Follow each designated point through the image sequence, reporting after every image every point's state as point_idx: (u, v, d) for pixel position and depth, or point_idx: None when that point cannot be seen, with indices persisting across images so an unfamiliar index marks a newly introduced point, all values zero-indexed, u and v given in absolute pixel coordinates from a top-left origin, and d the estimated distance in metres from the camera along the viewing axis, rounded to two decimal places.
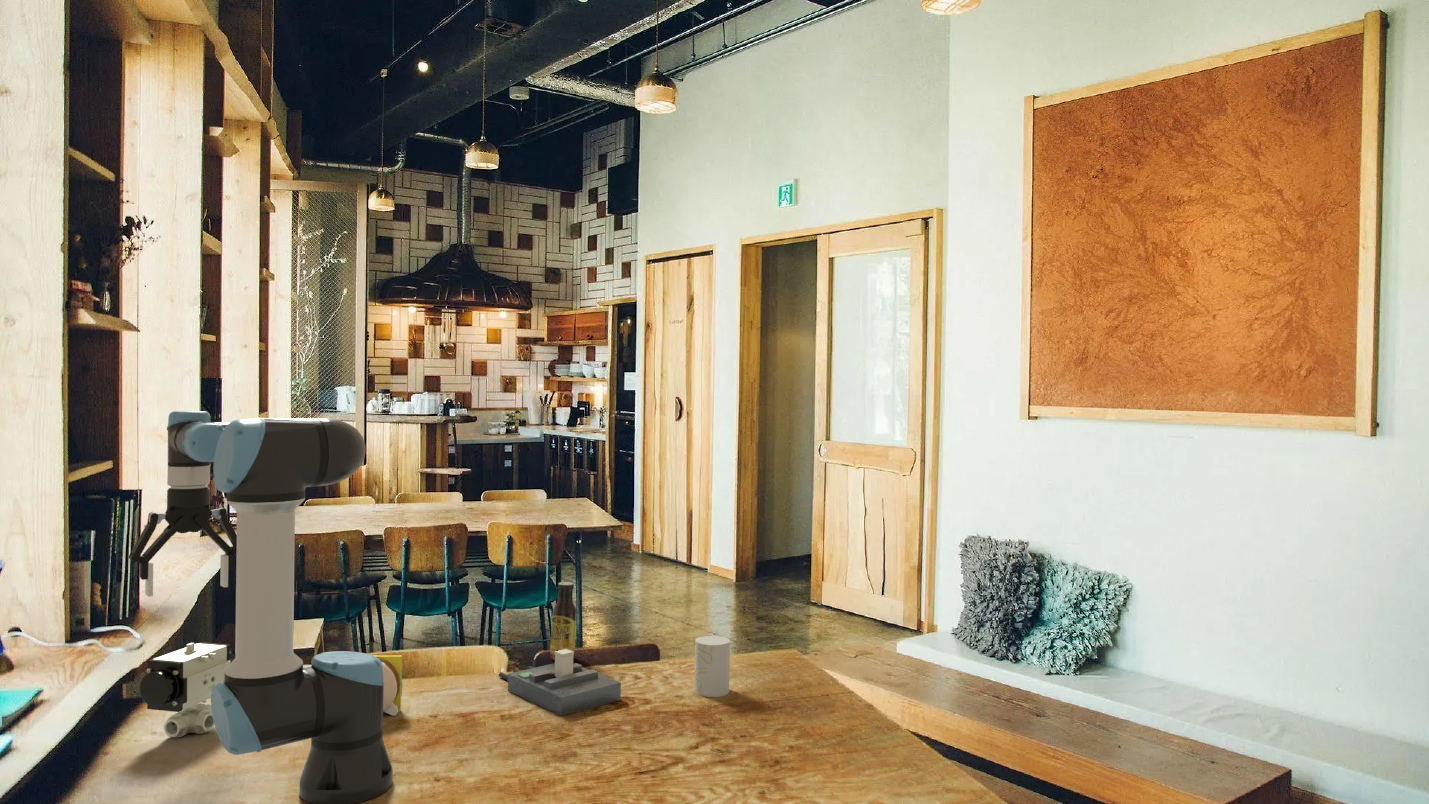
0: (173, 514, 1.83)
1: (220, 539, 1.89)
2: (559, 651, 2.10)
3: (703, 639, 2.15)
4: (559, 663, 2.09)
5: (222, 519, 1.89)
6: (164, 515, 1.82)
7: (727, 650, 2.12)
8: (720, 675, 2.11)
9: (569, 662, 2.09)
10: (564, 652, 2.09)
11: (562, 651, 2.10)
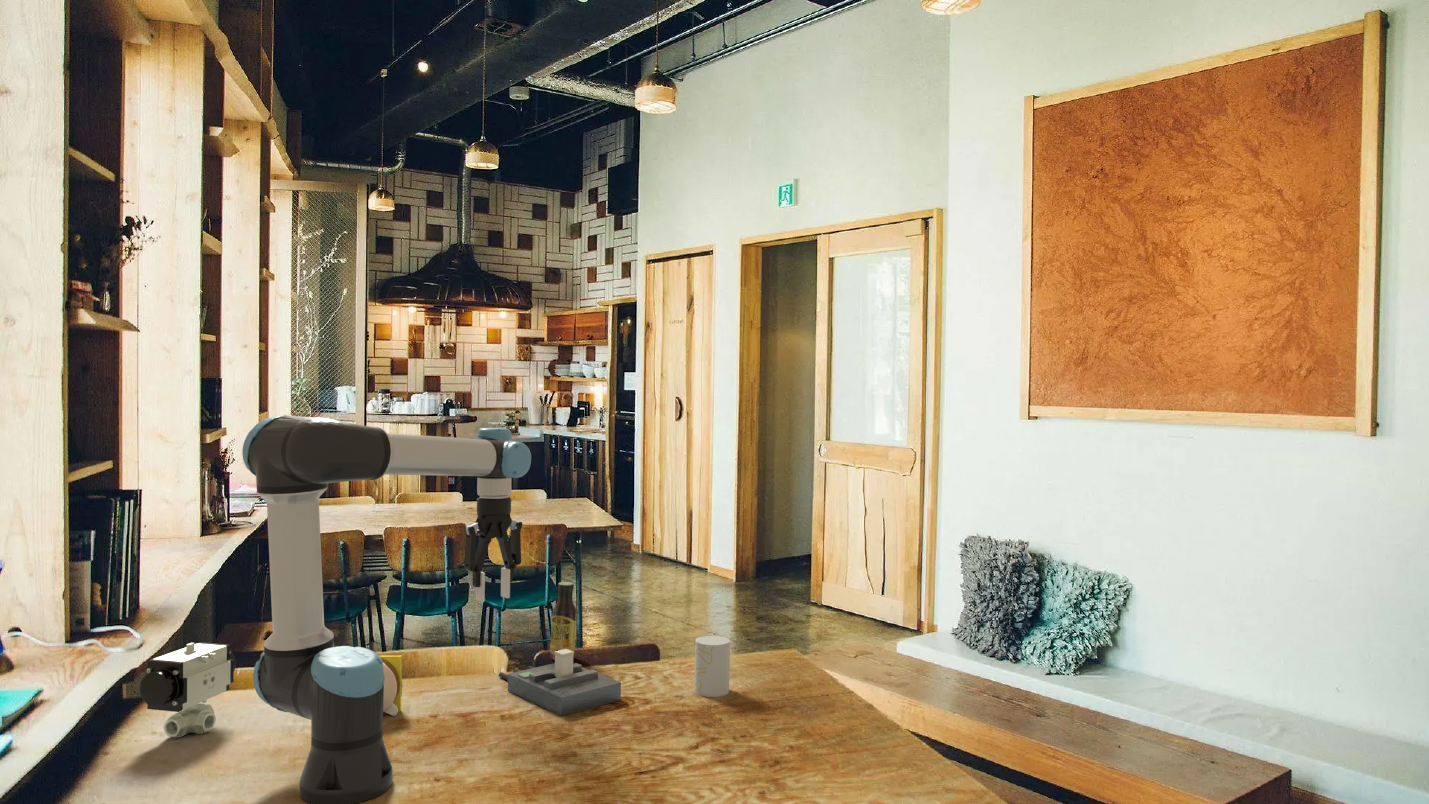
0: (483, 521, 2.03)
1: (509, 551, 2.07)
2: (559, 651, 2.10)
3: (703, 639, 2.15)
4: (559, 663, 2.09)
5: (516, 531, 2.08)
6: (477, 525, 2.02)
7: (727, 650, 2.12)
8: (720, 675, 2.11)
9: (569, 662, 2.09)
10: (564, 652, 2.09)
11: (562, 651, 2.10)
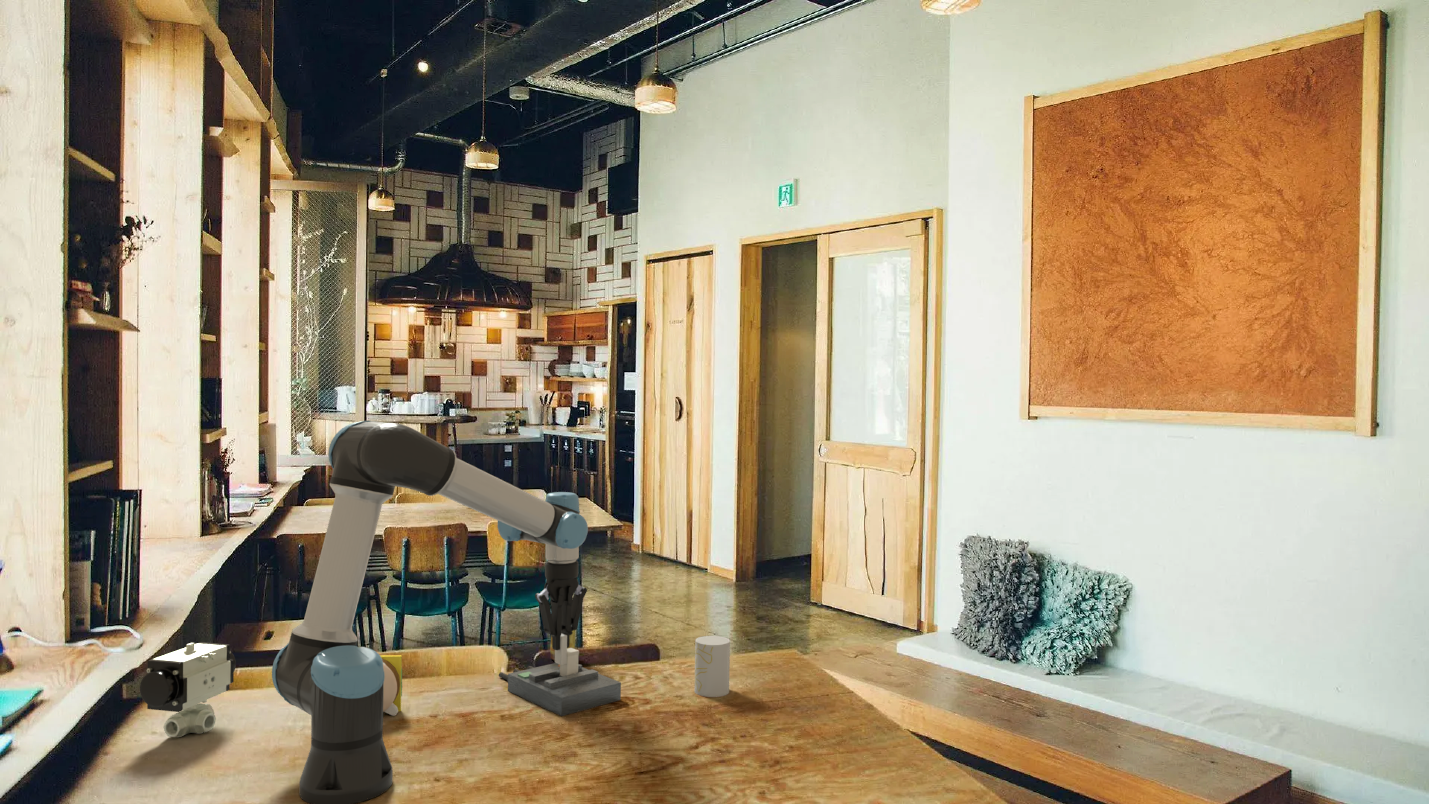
0: (552, 586, 2.06)
1: (569, 616, 2.09)
2: None
3: (703, 639, 2.15)
4: None
5: (580, 596, 2.11)
6: (546, 591, 2.06)
7: (727, 650, 2.12)
8: (720, 675, 2.11)
9: (574, 661, 2.10)
10: (569, 651, 2.10)
11: (567, 650, 2.11)
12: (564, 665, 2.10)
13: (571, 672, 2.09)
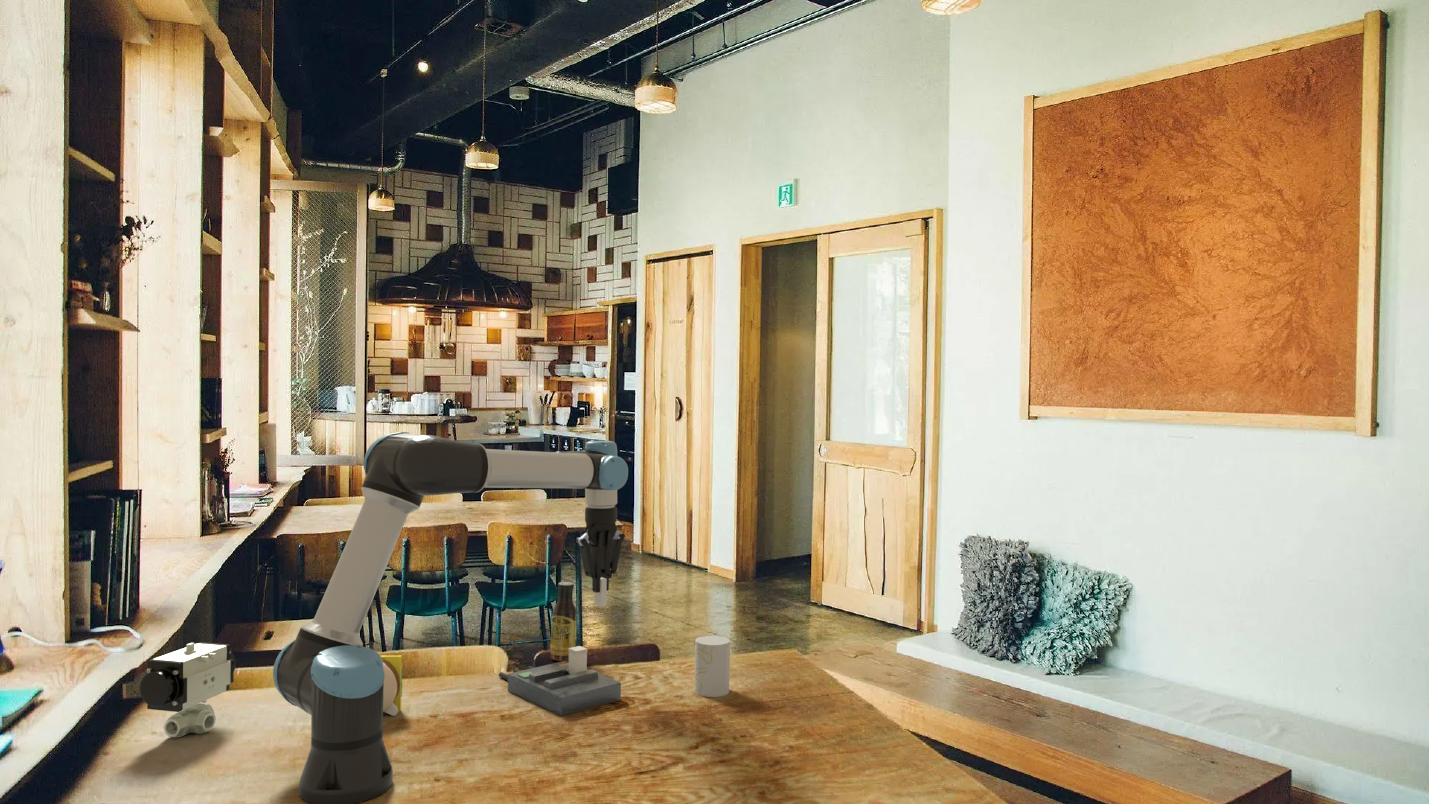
0: (592, 530, 2.13)
1: (609, 560, 2.17)
2: (573, 648, 2.12)
3: (703, 639, 2.15)
4: (573, 660, 2.11)
5: (618, 541, 2.19)
6: (587, 535, 2.13)
7: (727, 650, 2.12)
8: (720, 675, 2.11)
9: (583, 659, 2.12)
10: (578, 649, 2.11)
11: (576, 648, 2.12)
12: (573, 663, 2.11)
13: (580, 670, 2.11)
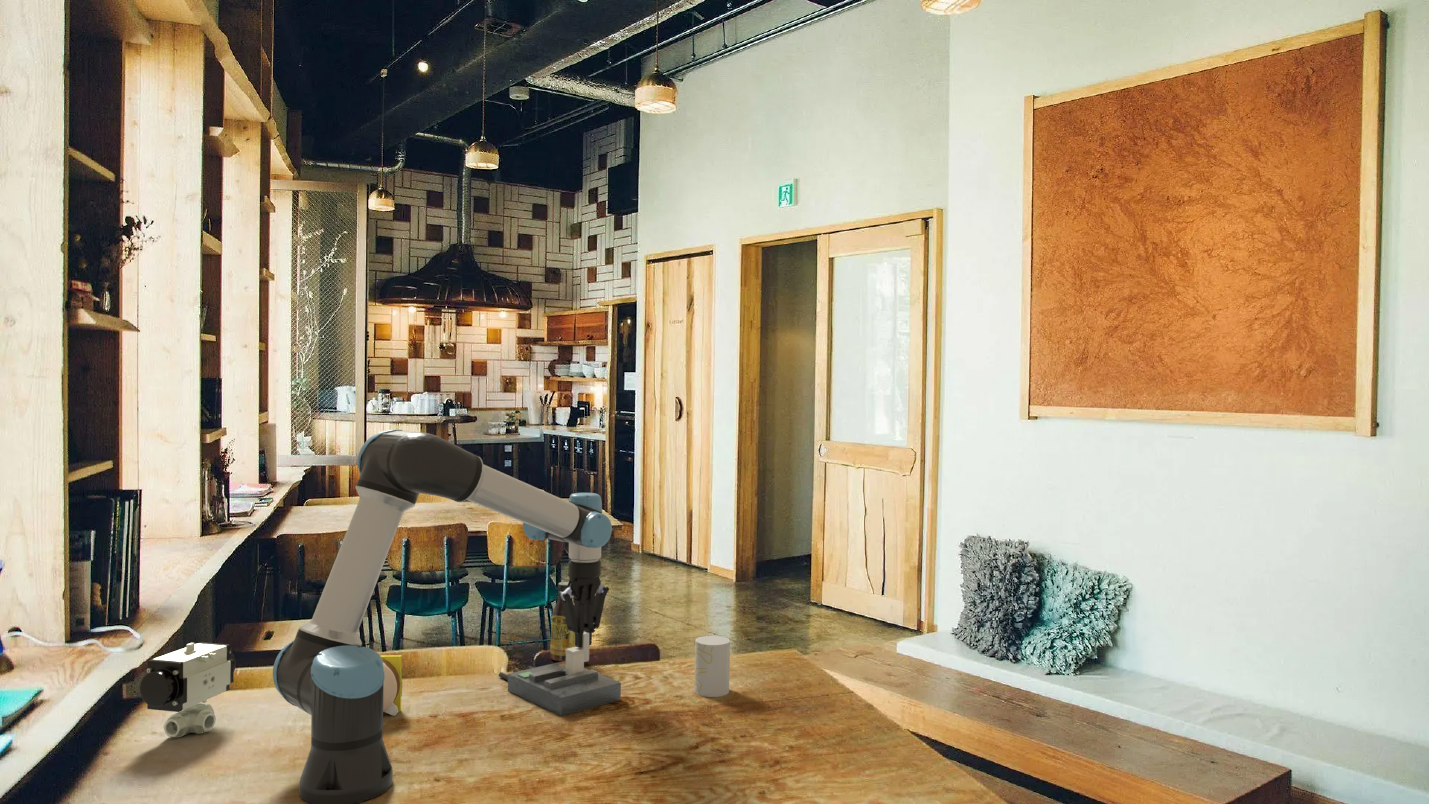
0: (575, 584, 2.10)
1: (592, 614, 2.14)
2: (570, 649, 2.12)
3: (703, 639, 2.15)
4: (570, 660, 2.11)
5: (602, 594, 2.16)
6: (570, 589, 2.10)
7: (727, 650, 2.12)
8: (720, 675, 2.11)
9: (580, 660, 2.11)
10: (575, 650, 2.11)
11: (573, 649, 2.12)
12: (570, 664, 2.11)
13: (577, 671, 2.11)
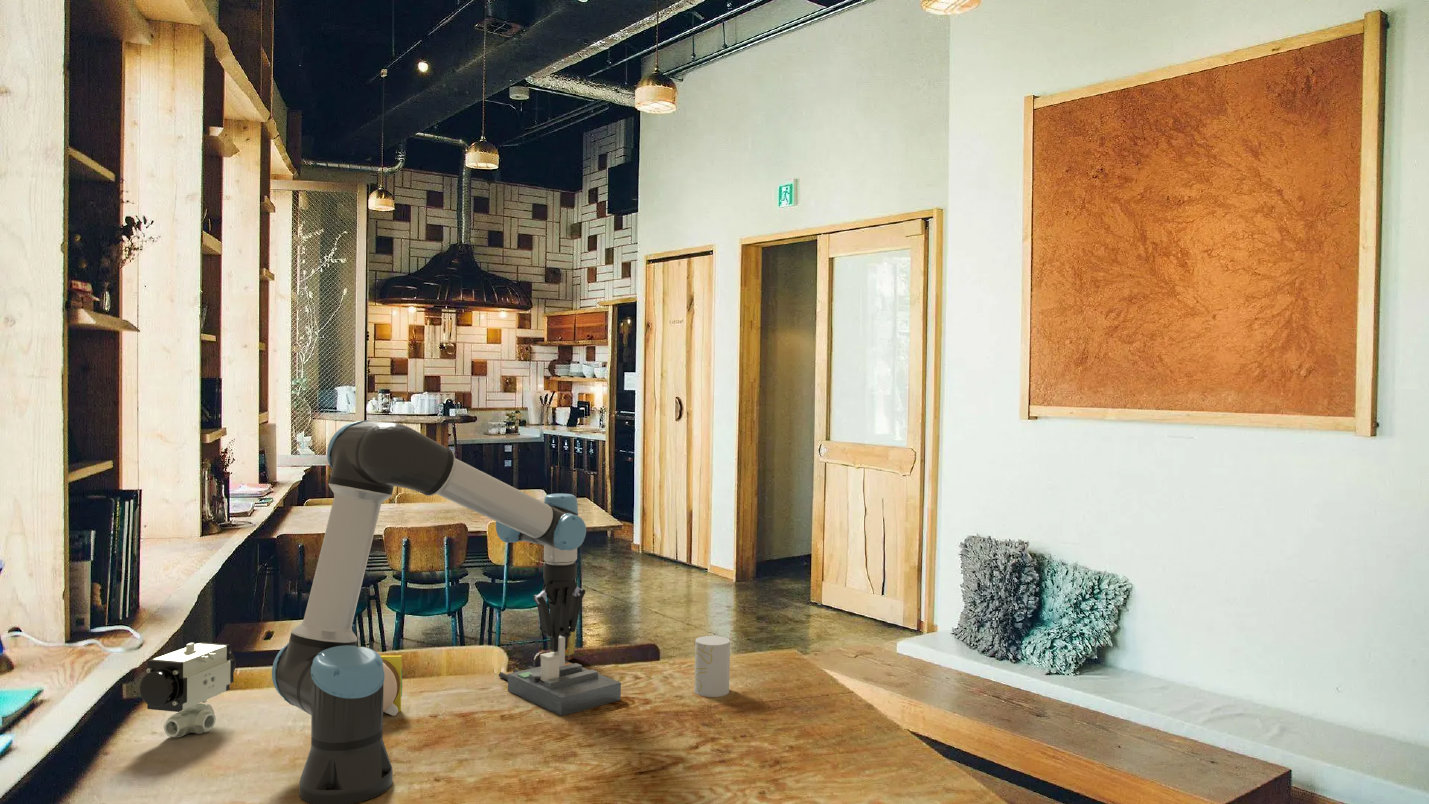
0: (550, 587, 2.06)
1: (568, 618, 2.09)
2: (545, 654, 2.07)
3: (703, 639, 2.15)
4: (545, 666, 2.06)
5: (578, 597, 2.11)
6: (545, 592, 2.05)
7: (727, 650, 2.12)
8: (720, 675, 2.11)
9: (555, 665, 2.06)
10: (550, 655, 2.06)
11: (548, 654, 2.07)
12: (545, 669, 2.06)
13: (552, 677, 2.06)
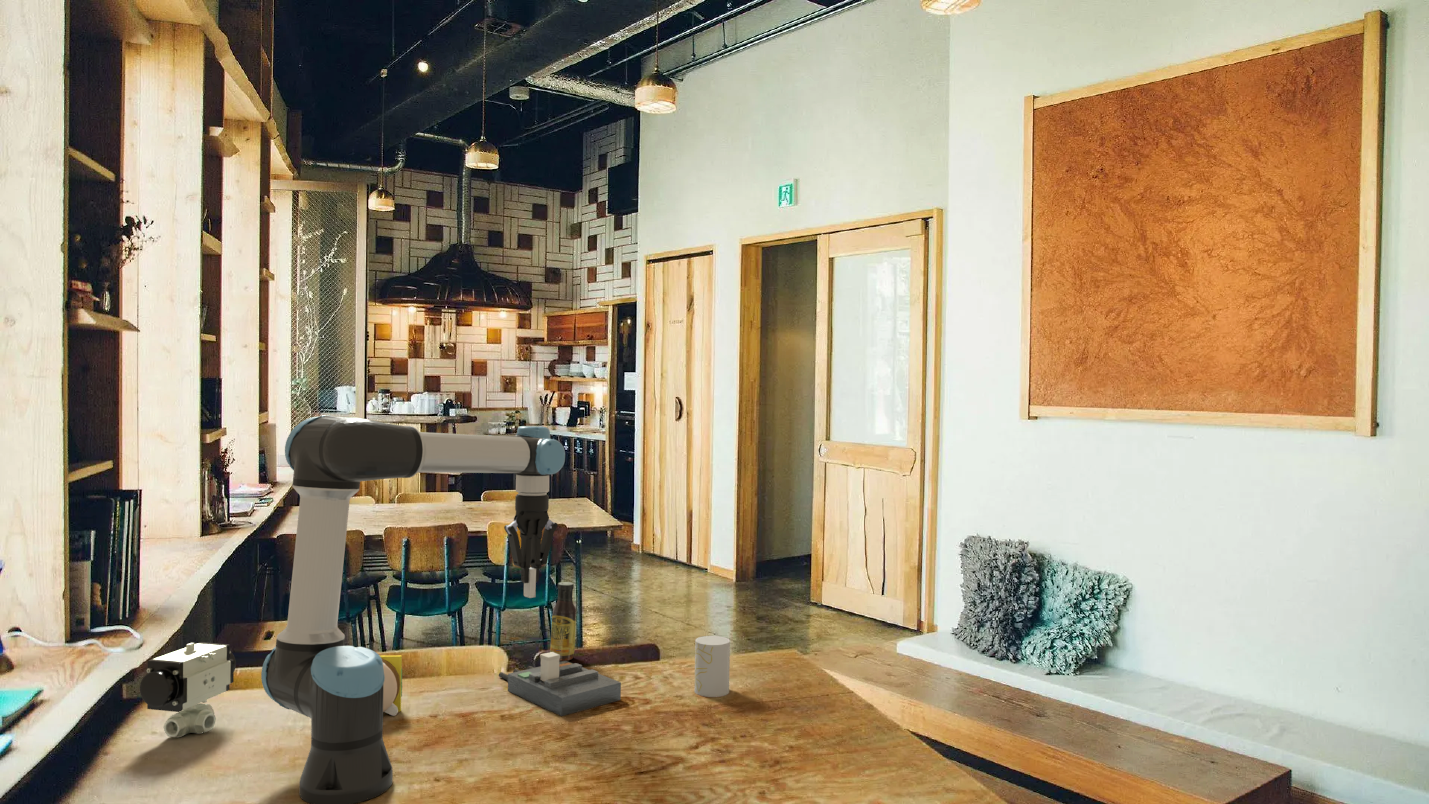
0: (521, 518, 2.06)
1: (539, 550, 2.09)
2: (545, 654, 2.07)
3: (703, 639, 2.15)
4: (544, 666, 2.06)
5: (550, 530, 2.11)
6: (516, 523, 2.06)
7: (727, 650, 2.12)
8: (720, 675, 2.11)
9: (555, 665, 2.06)
10: (550, 655, 2.06)
11: (548, 654, 2.07)
12: (545, 669, 2.06)
13: (552, 677, 2.06)
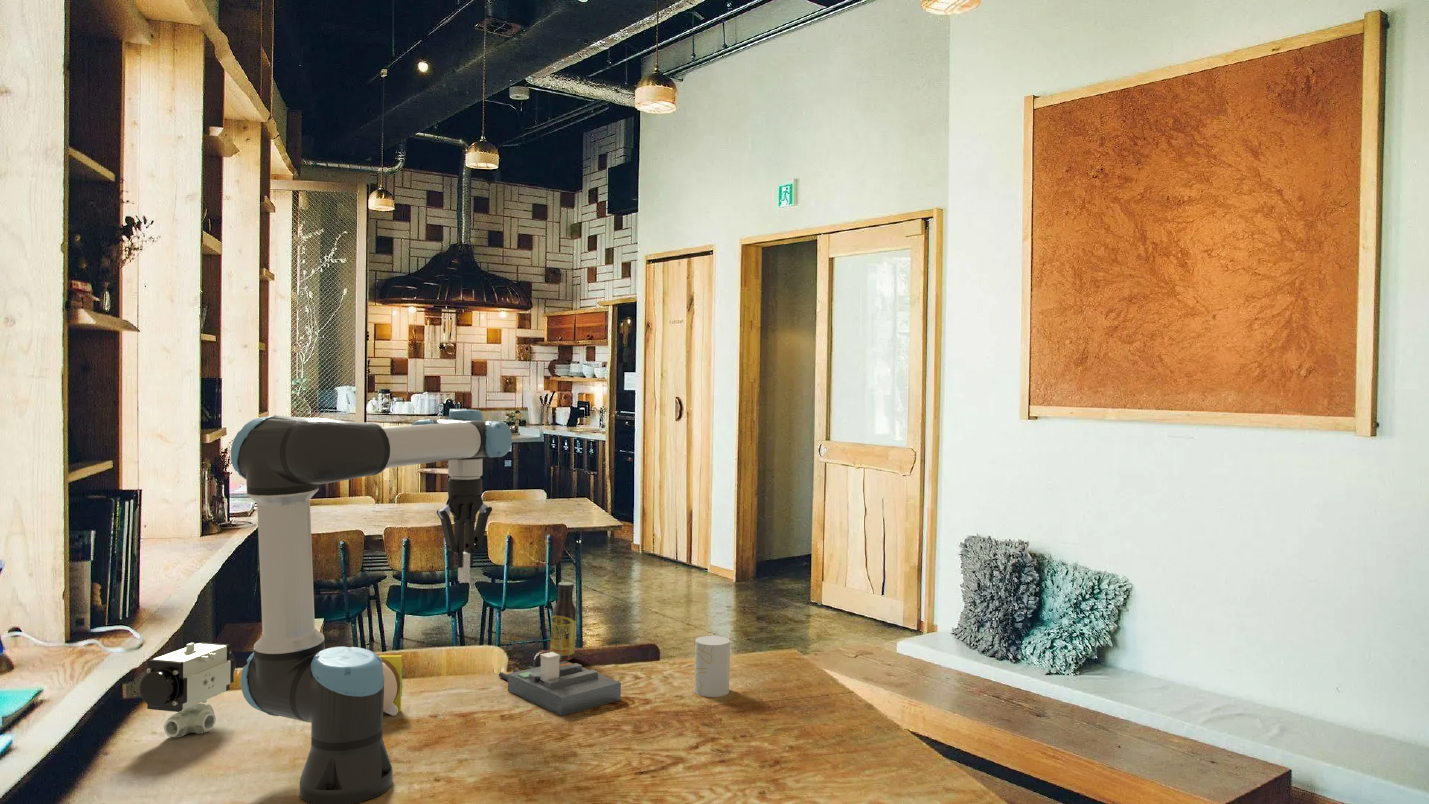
0: (454, 502, 2.04)
1: (473, 534, 2.08)
2: (545, 654, 2.07)
3: (703, 639, 2.15)
4: (544, 666, 2.06)
5: (485, 514, 2.10)
6: (448, 507, 2.04)
7: (727, 650, 2.12)
8: (720, 675, 2.11)
9: (555, 665, 2.06)
10: (550, 655, 2.06)
11: (548, 654, 2.07)
12: (545, 669, 2.06)
13: (552, 677, 2.06)
